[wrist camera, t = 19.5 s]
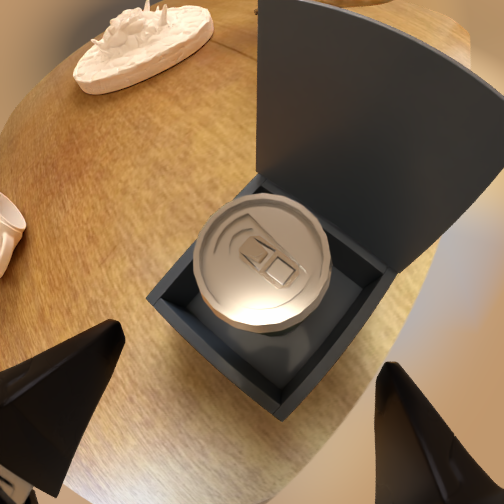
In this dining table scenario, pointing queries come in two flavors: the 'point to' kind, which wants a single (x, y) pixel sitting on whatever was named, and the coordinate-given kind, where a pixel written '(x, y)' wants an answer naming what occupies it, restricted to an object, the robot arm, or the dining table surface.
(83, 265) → the dining table surface
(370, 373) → the dining table surface
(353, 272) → the grey open square box
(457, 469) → the robot arm
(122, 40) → the cake
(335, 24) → the lid
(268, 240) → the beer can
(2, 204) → the mug
